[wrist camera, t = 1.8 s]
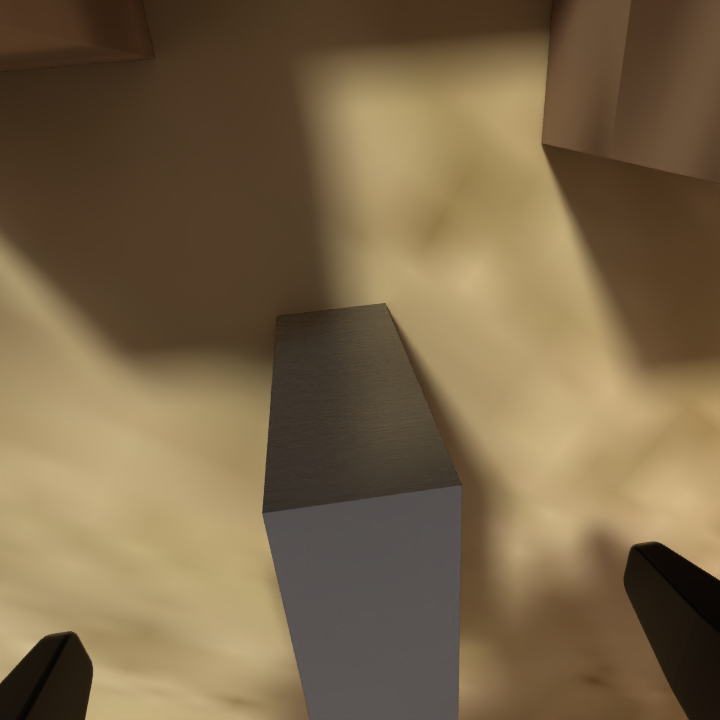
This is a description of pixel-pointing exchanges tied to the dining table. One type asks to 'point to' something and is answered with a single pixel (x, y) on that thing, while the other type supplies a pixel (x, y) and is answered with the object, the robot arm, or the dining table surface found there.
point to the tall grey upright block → (362, 521)
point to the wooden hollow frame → (564, 73)
